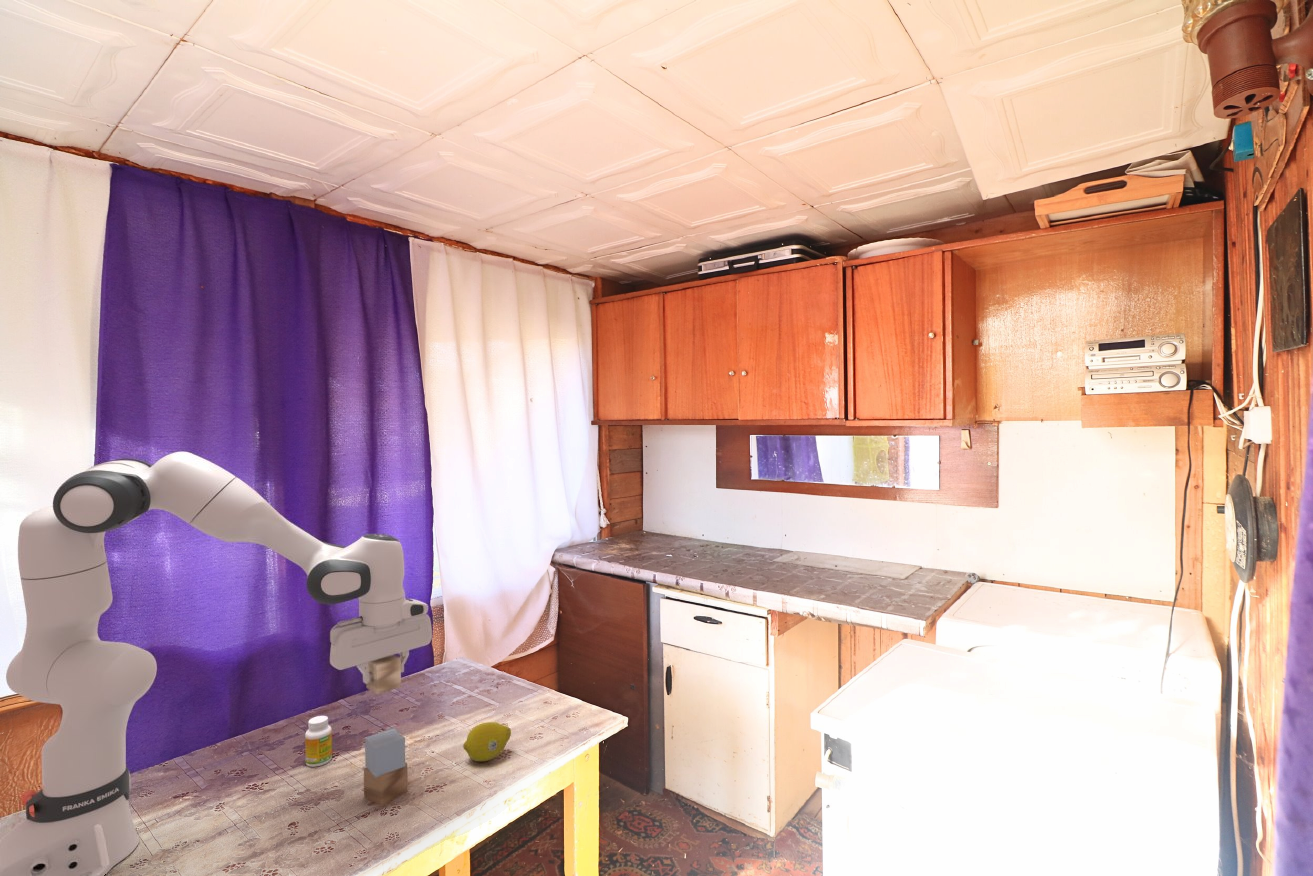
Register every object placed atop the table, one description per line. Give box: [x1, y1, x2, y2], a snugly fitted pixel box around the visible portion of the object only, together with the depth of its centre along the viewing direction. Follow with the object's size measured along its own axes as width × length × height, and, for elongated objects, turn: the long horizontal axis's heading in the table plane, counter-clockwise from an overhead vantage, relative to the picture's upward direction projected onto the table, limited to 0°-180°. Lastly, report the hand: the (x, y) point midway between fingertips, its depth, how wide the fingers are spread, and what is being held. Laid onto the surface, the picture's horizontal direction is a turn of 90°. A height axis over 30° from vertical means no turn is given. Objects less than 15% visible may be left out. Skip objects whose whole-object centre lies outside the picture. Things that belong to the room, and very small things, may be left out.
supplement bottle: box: [304, 715, 333, 768], centre depth 143 cm, size 5×5×10 cm
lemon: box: [462, 721, 512, 763], centre depth 144 cm, size 11×8×8 cm
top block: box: [364, 727, 406, 777], centre depth 130 cm, size 6×6×6 cm
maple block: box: [365, 654, 402, 695], centre depth 129 cm, size 5×5×6 cm
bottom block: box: [363, 761, 409, 807], centre depth 130 cm, size 6×6×6 cm
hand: (383, 677), depth 129 cm, fingers closed on maple block, 5 cm apart
